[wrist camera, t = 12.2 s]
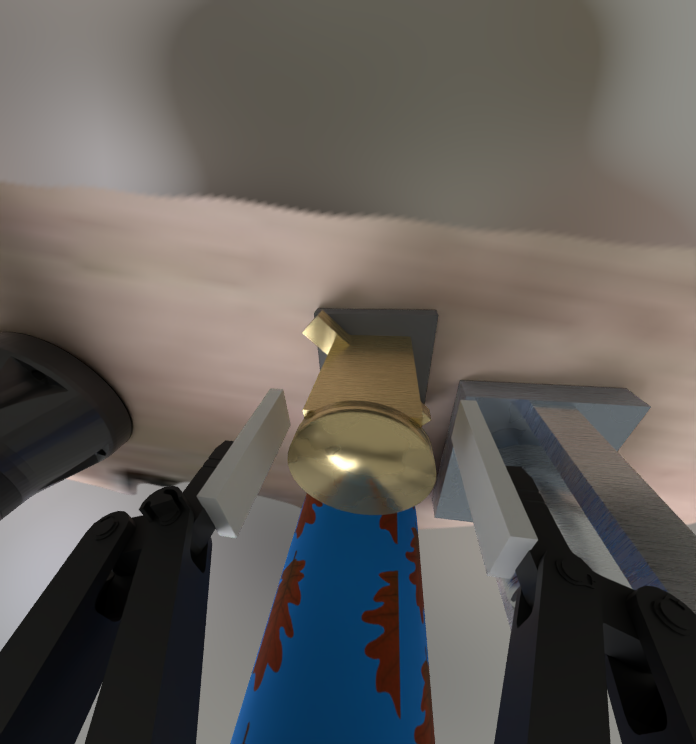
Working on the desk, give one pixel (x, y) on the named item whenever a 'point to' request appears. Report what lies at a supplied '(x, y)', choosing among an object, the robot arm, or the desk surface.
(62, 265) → the desk surface
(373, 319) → the rubber mat
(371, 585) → the thermos
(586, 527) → the grey metal stand
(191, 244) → the desk surface
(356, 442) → the brass cap
